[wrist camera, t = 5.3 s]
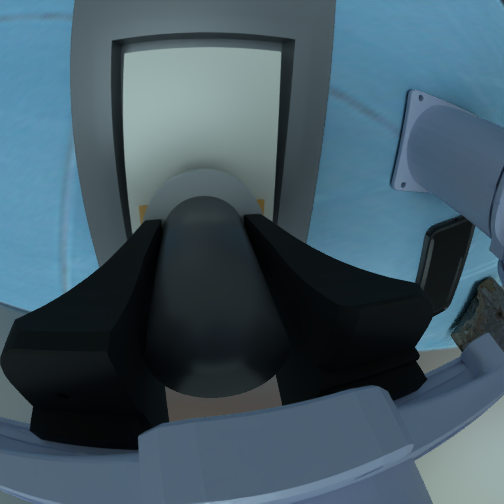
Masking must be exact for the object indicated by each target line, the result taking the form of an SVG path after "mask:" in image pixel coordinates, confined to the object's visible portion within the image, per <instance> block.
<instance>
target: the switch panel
mask: <svg viewBox="0 0 504 504" xmlns="http://www.w3.org/2000/svg"><path fill="white" fill-rule="evenodd" d="M335 6H336V0H75V3H74V11H73V21H72V34H71V54H70V90H71V111H72V124H73V135H74V144H75V153H76V160H77V167H78V174H79V180H80V186H81V191H82V197H83V202H84V207H85V212H86V216H87V221H88V225H89V230H90V234H91V238H92V242H93V246H94V249H95V253H96V257H97V260H98V264H99V267H101V266H102V265H103V264H104V263H105V262H107V261H108V260H109V259H110V258H111V257H112V256H113V255H114V254H115V253H116V252H117V251H118V250H119V249H120V248H121V247H122V246H123V245H124V243H125V242H126V241H127V240H128V239H129V238H130V237H131V236H132V226H131V219H130V210H129V202H128V192H127V181H126V169H125V154H124V133H123V72H124V53H130V52H138V51H147V50H157V49H171V48H193V47H224V48H246V49H260V50H270V51H279V52H281V71H280V95H279V117H278V137H277V155H276V173H275V190H274V206H273V221H272V222H274V223H275V224H276V225H278V226H279V227H281V228H282V229H284V230H285V231H287V232H288V233H290V234H291V235H293V236H294V237H296V238H297V239H299V240H301V241H302V242H304V243H306V242H307V236H308V231H309V225H310V219H311V213H312V208H313V202H314V195H315V189H316V183H317V176H318V170H319V163H320V156H321V149H322V142H323V134H324V126H325V118H326V110H327V101H328V92H329V83H330V73H331V62H332V50H333V38H334V23H335Z"/></svg>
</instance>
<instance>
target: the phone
mask: <svg viewBox="0 0 504 504" xmlns="http://www.w3.org/2000/svg"><path fill="white" fill-rule="evenodd" d="M455 219H458V220H456V221H452V220H455ZM474 229H475V225H474V224H473V223H471V222H470V221H469V220H468V219H466V218H465V217H464V216H462V215H460V216H457V217H455V218H452V219H449V220H447V221H444V222H441V223H438V224H436V225H433V226H431V227H430V228H429V229H428V231H427V232H426V234H425V237H424V242H423V248H422V253H421V258H420V263H419V268H418V273H417V277H416V282H415V283H417V284H418V285H419V286H420V287H421V288H422V289H423V291H424V292H425V293H426V294H427V296H428V297H429V298H430V299H431V301H432V302H433V304H434V312H433V316H432V317H434V316H435V315H437V314H439V313H441V312H443V311H445V310H446V309H447V308H448V307H449V305H450V304H451V302H452V299H453V296H454V294H455V291H456V288H457V286H458V283H459V280H460V277H461V274H462V271H463V268H464V265H465V261H466V258H467V255H468V251H469V248H470V244H471V241H472V237H473V233H474Z"/></svg>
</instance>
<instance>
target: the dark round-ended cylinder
mask: <svg viewBox="0 0 504 504" xmlns="http://www.w3.org/2000/svg"><path fill="white" fill-rule="evenodd" d="M245 214H261V215H263V213H262V210H261V208H260V206H259V204H258V202H257V200H256V199H255V197H254V195H253V194H252V192H251V191H250V190H249V188H248V187H247V186H246V185H245V184H244V183H243V182H242V181H240V180H239V179H238V178H236V177H234V176H233V175H231V174H229V173H226V172H224V171H220V170H216V169H209V168H199V169H192V170H188V171H184V172H181V173H179V174H177V175H175V176H173V177H171V178H170V179H168V180H167V181H166V182H164V183H163V184H162V185H161V186H160V187H159V188H158V189H157V190H156V192H155V193H154V195H153V196H152V198H151V200H150V202H149V204H148V207H147V209H146V212H145V215H144V218H143V222H144V221H145V220H156V219H161V224H162V238H161V243H160V249H159V254H158V260H157V266H156V272H155V278H154V284H153V291H152V298H151V305H150V313H149V321H148V329H147V338H146V348H145V360H146V364H147V367H148V368H149V370H150V372H151V373H152V375H153V376H154V377H155V378H156V379H157V380H158V381H159V382H160V383H162V384H163V385H165V386H166V387H168V388H170V389H172V390H174V391H176V392H179V393H182V394H186V395H190V396H195V397H204V398H219V397H227V396H233V395H237V394H241V393H244V392H247V391H250V390H252V389H254V388H256V387H258V386H260V385H262V384H264V383H265V382H267V381H268V380H269V379H271V378H272V377H273V376H274V375H275V374H276V373H277V372H278V371H279V370H280V369H281V368H282V366H283V365H284V363H285V361H286V359H287V357H288V352H289V340H288V337H287V334H286V332H285V329H284V327H283V324H282V321H281V319H280V316H279V314H278V311H277V309H276V306H275V304H274V301H273V298H272V296H271V293H270V291H269V288H268V286H267V283H266V281H265V278H264V276H263V273H262V270H261V268H260V265H259V263H258V260H257V258H256V255H255V253H254V250H253V248H252V245H251V242H250V240H249V237H248V235H247V232H246V230H245V227H244V215H245Z"/></svg>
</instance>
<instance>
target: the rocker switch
mask: <svg viewBox="0 0 504 504" xmlns="http://www.w3.org/2000/svg"><path fill="white" fill-rule="evenodd" d="M280 71H281V52H279V51H270V50H260V49H246V48H224V47H193V48H171V49H157V50H147V51H138V52H130V53H124V72H123V133H124V154H125V169H126V181H127V192H128V202H129V210H130V219H131V226H132V234H133V233H134V232H135V231H136V230H137V229H138V228H139V226H140V225H141V224H142V223H143V218H144V215H145V212H146V209H147V207H148V204H149V202H150V200H151V198H152V196H153V195H154V193H155V192H156V190H157V189H158V188H159V187H160V186H161V185H162V184H163V183H164V182H166V181H167V180H168V179H170V178H171V177H173V176H175V175H177V174H179V173H181V172H184V171H188V170H192V169H199V168H209V169H216V170H220V171H224V172H226V173H229V174H231V175H233V176H234V177H236V178H238V179H239V180H240V181H242V182H243V183H244V184H245V185H246V186H247V187H248V188H249V190H250V191H251V192H252V194H253V195H254V197H255V199H256V200H257V202H258V204H259V206H260V208H261V210H262V213H263V216H265V217H266V218H268V219H269V220H271V221H273V206H274V190H275V173H276V155H277V137H278V117H279V95H280Z"/></svg>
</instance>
